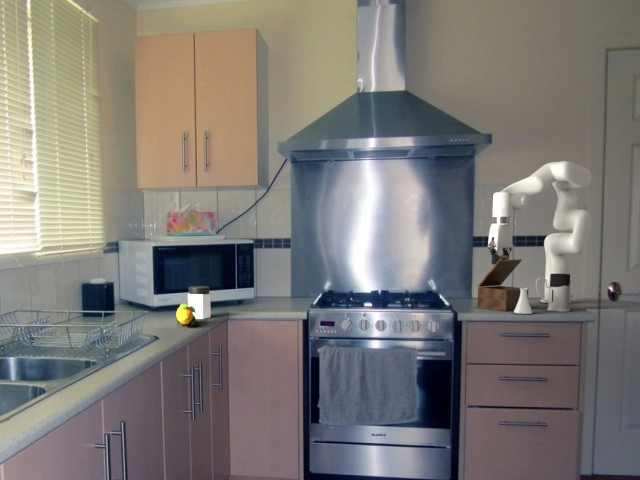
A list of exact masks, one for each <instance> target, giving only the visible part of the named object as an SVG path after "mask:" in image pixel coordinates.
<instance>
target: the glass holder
mask: <svg viewBox="0 0 640 480" xmlns="http://www.w3.org/2000/svg"><path fill="white" fill-rule="evenodd" d="M540 279H543V280H544V283H545V282H546V287H547V281H546V279H545V277H542V276H540V277H538V278H536V281H535V289H536V293H537V294H538V296H539V297H540V298H541V299H544V296H542V295H541V293H540V291H539V289H538V282H539V280H540ZM547 288H549V302H548V301H547V300H545V299H544V300H545V301H546V302H547V303H546V304H547V306H548V307H547V308H546V311H550V312H565V313H566V312H570V311H571V308H570V304H571V303H570V300H571V298H570V293H571V274H570V273H568V274H550V286H549V287H547Z"/></svg>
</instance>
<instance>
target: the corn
mask: <svg viewBox="0 0 640 480" xmlns="http://www.w3.org/2000/svg"><path fill="white" fill-rule="evenodd" d="M193 312H194V313H195V314H196V310H195V308H194V307H193V306H192V305H191V306H190V307H189V306H188V303H181V304H180V305H179V307H178V308H177V311H176V314H175V316H176V322H177V323H178V324H179V325H180V326H184V325H189V324H190V326H193V325H194V324H195V322H196V320H197V319H196V318H195V315H193Z"/></svg>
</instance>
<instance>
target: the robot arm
mask: <svg viewBox="0 0 640 480" xmlns="http://www.w3.org/2000/svg"><path fill="white" fill-rule="evenodd" d="M591 181H592V174H591V172H590V170H589V169H588V168H586V167H584V166H581V165H580V164H576V163H575V162H572V161H568V160H563V161H562V160H561V161H553V162H552V161H551V162H548V163H545V164H543V165H541V167H539V168H538V169H537V170H536V171H534V172H533V173H532V174H530V175H529V176H527V177H526V178H523V179H521V180H519V181H516V182H513V183H512V184H510V185H508V186H506V187H505V188H503V189H502V190H501V191H496V192H494V193H493V195H492V196H493V197H492V215H491V216H492V217H491V218H492V219H491V224H490V227H489V233H488V241H487V242H488V243H487V249H488V250H489V252H490V255H491V265H495V264H496V263H497V262H498V261H499V256H500V254H499V252H500V249H501V250H502V254H501V256H502V255H507V256H508V260H510V255H511V252H512V250H513V249H514V247H515V246H514V244H513V226H512V218H513V217H512V215H513V213H512V212H513V210H523V209H526V208H527V207H528V206H529V205H530V202H531V196H536V195H538V194H540V193H543V191H545V190H546V189H547V188H548V187H549V186H551V185H552V187H553V188H554V190H555V192H556V195H557V203H556V208H555V211H554V216H553V220H552V221H553V222H552V226H553V228H554V230H556V231H561V232H554V233H550V234H548V235H547V236H546V237H545V238H544V242H543V247H544V253H545V271H544V272H545V274H544V278H545V279H546V281H547V287H549V286H550V274H570V270H569V269H570V263H569V260H568V258H567V256H566V255H569V256H572V255H573V256H575V255H576V256H577V255H581V254H583V253H584V252H585V249H586V247H587V244H588V240H589V235H590V233H591V228H592V215H591V213H590V212H589V211H588V210H586V209H578V208H579V207H578V206H579V200H580V199H579V196H578V195H577V192H576V191H575V190H574V189H583V188H587V187H588V186H589V185H590V184H591ZM547 287H546V282H545V281H544V292H543V293H544V294H543V295H544V296H543V298H544V299H545V300H547V301H548V302H549V288H547ZM573 297H574V294H573V293H571V292H570V303H569V304H571V303H572V300H571V298H573ZM544 299H542V298H541V299H540V303H542V304H543V303H544V304H548V303H547V302H546V301H545V300H544Z"/></svg>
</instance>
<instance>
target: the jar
mask: <svg viewBox="0 0 640 480" xmlns="http://www.w3.org/2000/svg"><path fill="white" fill-rule="evenodd" d="M187 304H188V306H189V307H190V306H191V305H192V306H193V307H194V308H195V310H196V314H195V313H194V312H193V315H195V318H196V319H195V320H199V319H200V320H204V319H211V317H212V316H211V315H212V314H211V313H212V311H211V293H210V286H206V285H194V286H188V293H187Z"/></svg>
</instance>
